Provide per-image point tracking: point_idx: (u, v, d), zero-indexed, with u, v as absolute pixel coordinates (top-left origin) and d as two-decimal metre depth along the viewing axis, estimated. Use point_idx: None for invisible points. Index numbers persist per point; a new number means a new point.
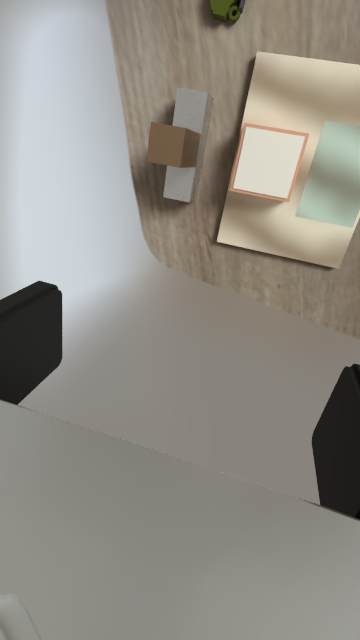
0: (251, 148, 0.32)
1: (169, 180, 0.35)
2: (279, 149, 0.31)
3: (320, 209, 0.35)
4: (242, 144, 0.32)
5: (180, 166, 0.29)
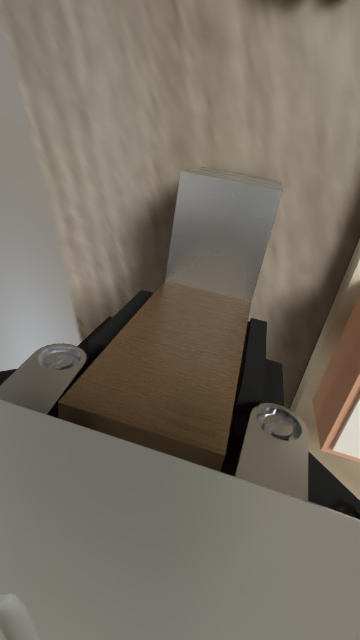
0: None
1: None
2: None
3: None
4: None
5: None
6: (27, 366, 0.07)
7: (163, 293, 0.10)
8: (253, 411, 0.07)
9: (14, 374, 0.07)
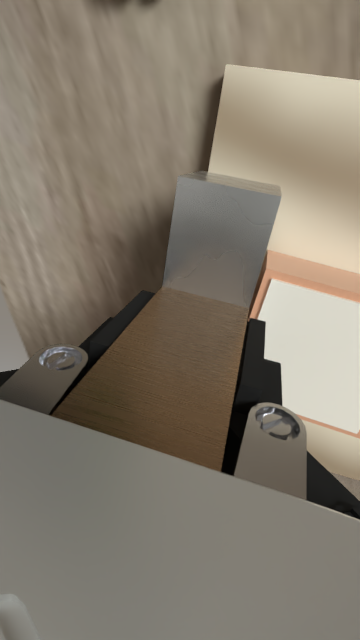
0: (280, 326, 0.13)
1: None
2: (352, 336, 0.12)
3: None
4: (259, 313, 0.13)
5: None
6: (28, 366, 0.07)
7: (160, 300, 0.10)
8: (251, 410, 0.07)
9: (15, 374, 0.07)
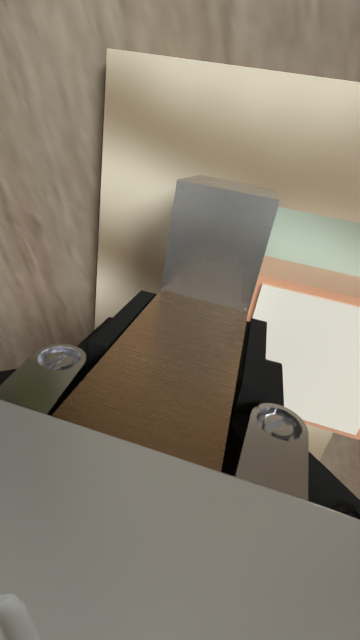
0: (274, 330, 0.13)
1: None
2: (345, 338, 0.12)
3: None
4: None
5: None
6: (27, 366, 0.07)
7: (159, 303, 0.10)
8: (253, 411, 0.07)
9: (14, 374, 0.07)
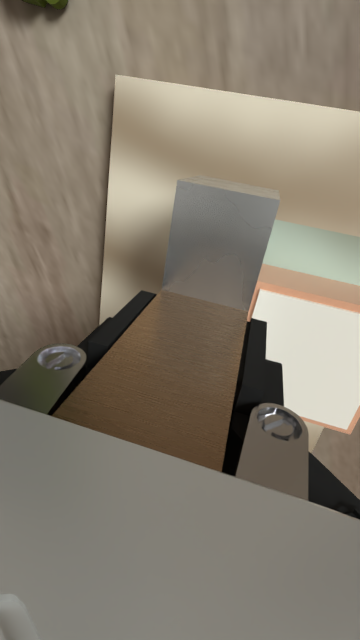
0: (270, 332, 0.14)
1: None
2: (335, 339, 0.14)
3: None
4: None
5: None
6: (27, 366, 0.07)
7: (159, 303, 0.10)
8: (253, 411, 0.07)
9: (14, 374, 0.07)
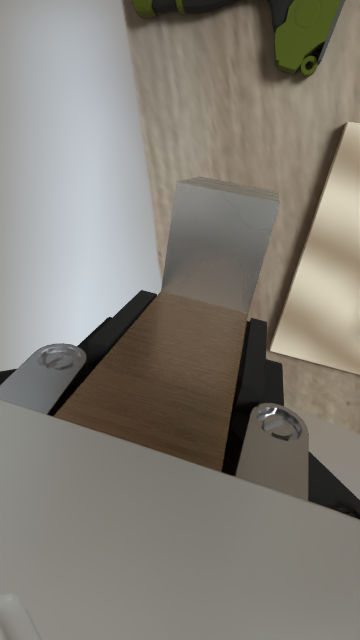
0: None
1: None
2: None
3: None
4: None
5: None
6: (27, 366, 0.07)
7: (159, 305, 0.10)
8: (253, 411, 0.07)
9: (14, 374, 0.07)
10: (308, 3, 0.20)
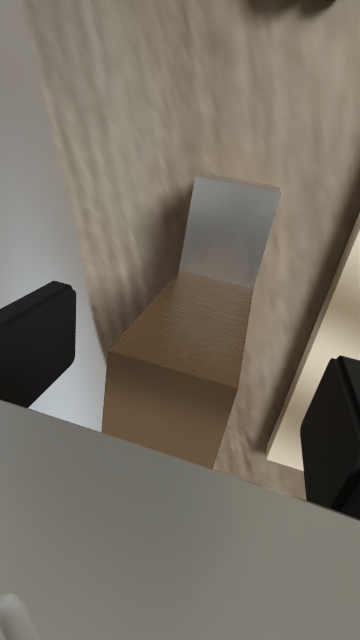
0: None
1: None
2: None
3: None
4: None
5: None
6: None
7: (178, 280, 0.12)
8: None
9: None
10: None
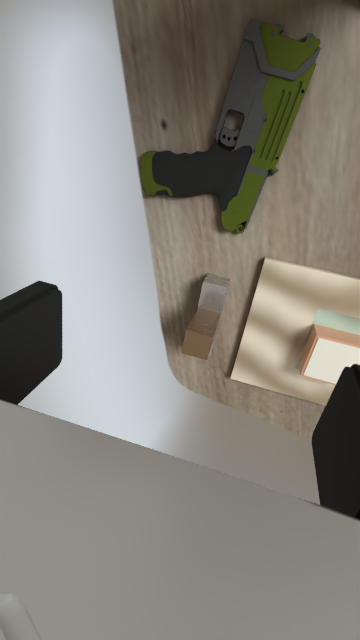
0: (321, 352, 0.39)
1: None
2: (344, 354, 0.39)
3: None
4: (314, 348, 0.40)
5: (207, 358, 0.37)
6: None
7: (198, 311, 0.41)
8: None
9: None
10: (237, 203, 0.38)
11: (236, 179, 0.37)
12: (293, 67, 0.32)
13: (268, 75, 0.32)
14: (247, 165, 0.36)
